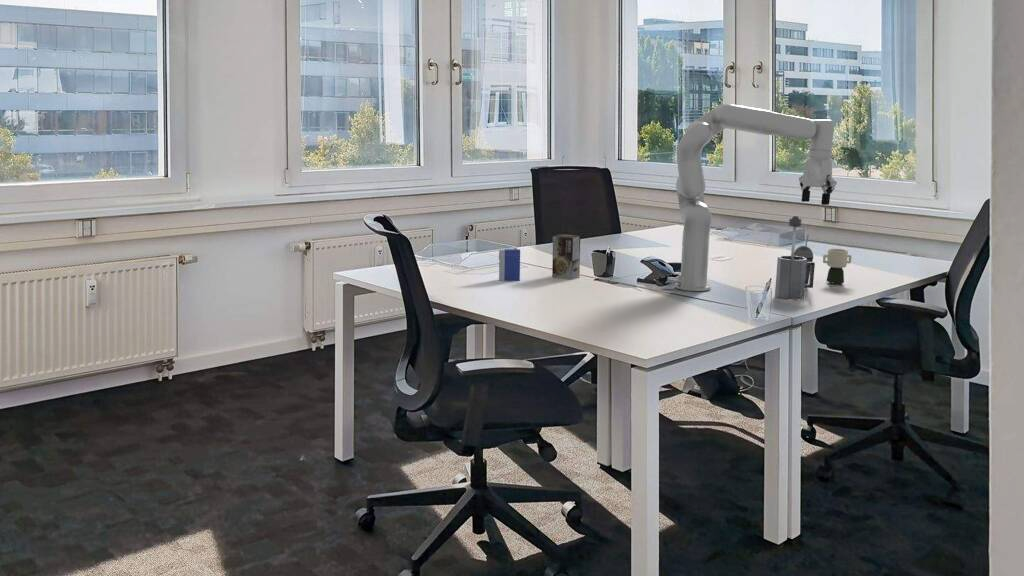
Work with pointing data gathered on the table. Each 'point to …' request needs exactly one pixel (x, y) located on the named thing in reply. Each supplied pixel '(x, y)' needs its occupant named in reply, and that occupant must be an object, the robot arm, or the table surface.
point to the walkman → (509, 264)
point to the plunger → (794, 232)
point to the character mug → (836, 264)
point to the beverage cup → (806, 253)
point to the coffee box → (566, 256)
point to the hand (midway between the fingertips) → (815, 203)
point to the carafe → (792, 277)
